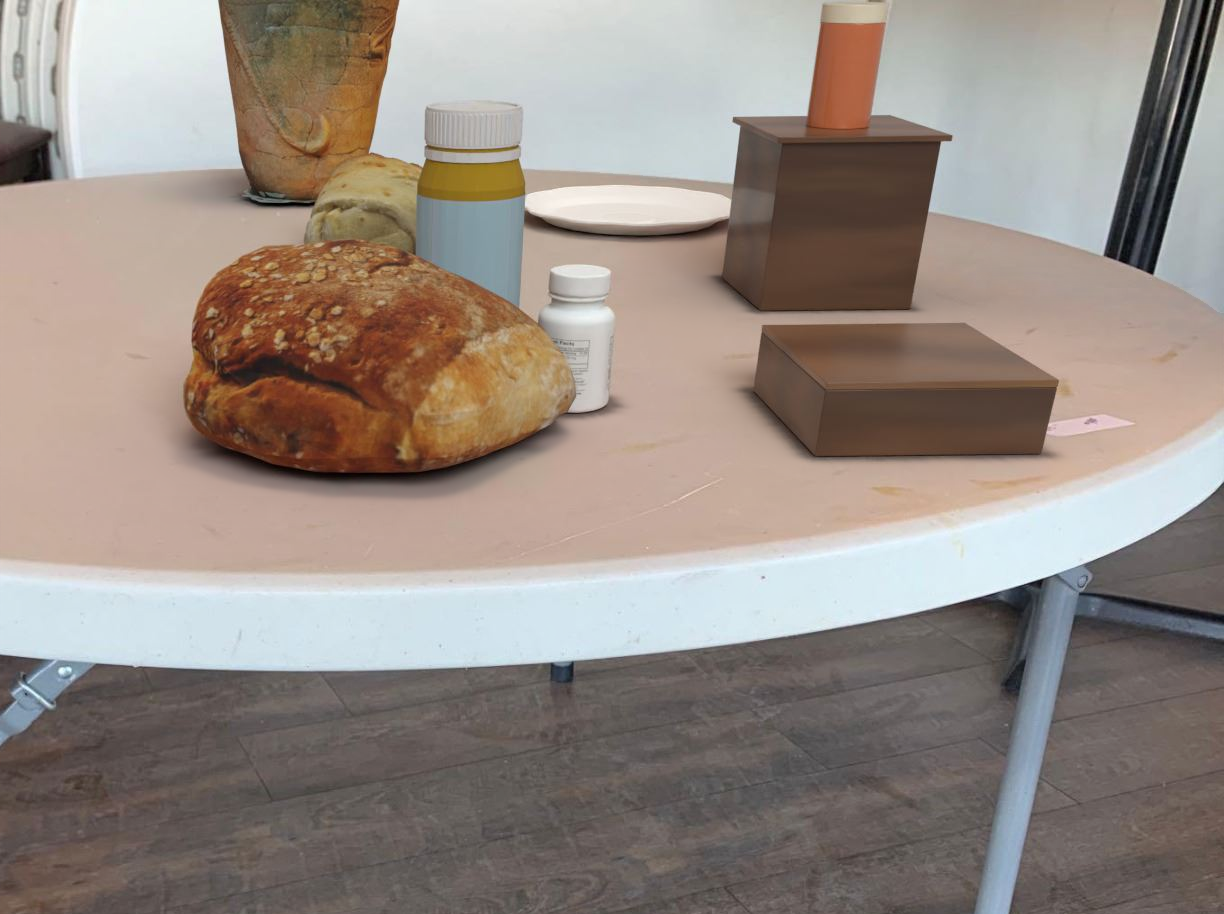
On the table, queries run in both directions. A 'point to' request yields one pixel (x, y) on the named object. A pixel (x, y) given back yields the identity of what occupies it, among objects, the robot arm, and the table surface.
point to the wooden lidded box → (902, 390)
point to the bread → (366, 362)
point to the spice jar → (846, 64)
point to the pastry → (368, 203)
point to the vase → (304, 87)
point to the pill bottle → (582, 329)
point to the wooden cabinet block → (829, 213)
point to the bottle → (473, 193)
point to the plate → (628, 209)
